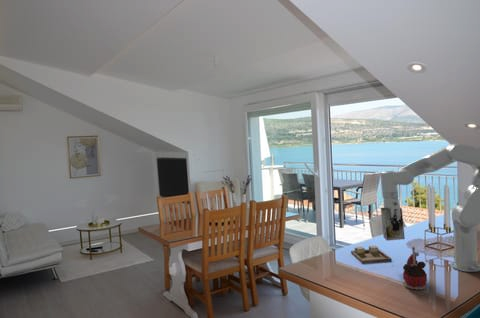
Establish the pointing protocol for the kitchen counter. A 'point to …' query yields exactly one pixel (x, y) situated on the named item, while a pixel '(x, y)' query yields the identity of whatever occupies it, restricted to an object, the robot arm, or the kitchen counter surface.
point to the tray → (372, 257)
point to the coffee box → (391, 226)
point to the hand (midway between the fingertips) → (393, 228)
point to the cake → (414, 272)
